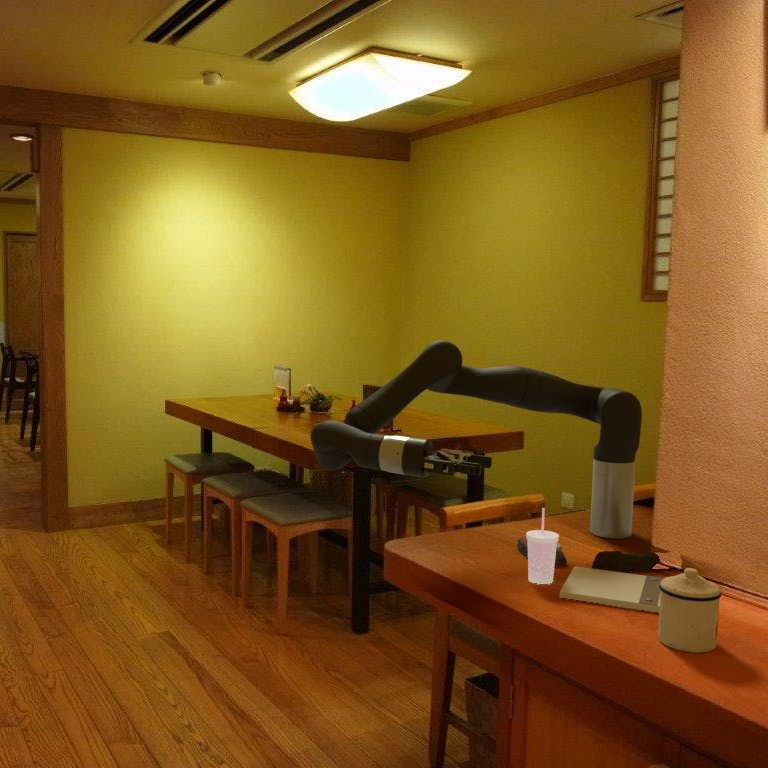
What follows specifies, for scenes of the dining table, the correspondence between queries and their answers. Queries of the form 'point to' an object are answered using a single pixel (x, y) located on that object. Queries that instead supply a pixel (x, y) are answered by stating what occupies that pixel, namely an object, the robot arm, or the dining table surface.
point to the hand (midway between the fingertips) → (486, 466)
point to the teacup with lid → (689, 612)
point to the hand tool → (624, 561)
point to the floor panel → (613, 588)
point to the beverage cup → (541, 554)
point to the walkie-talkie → (524, 550)
